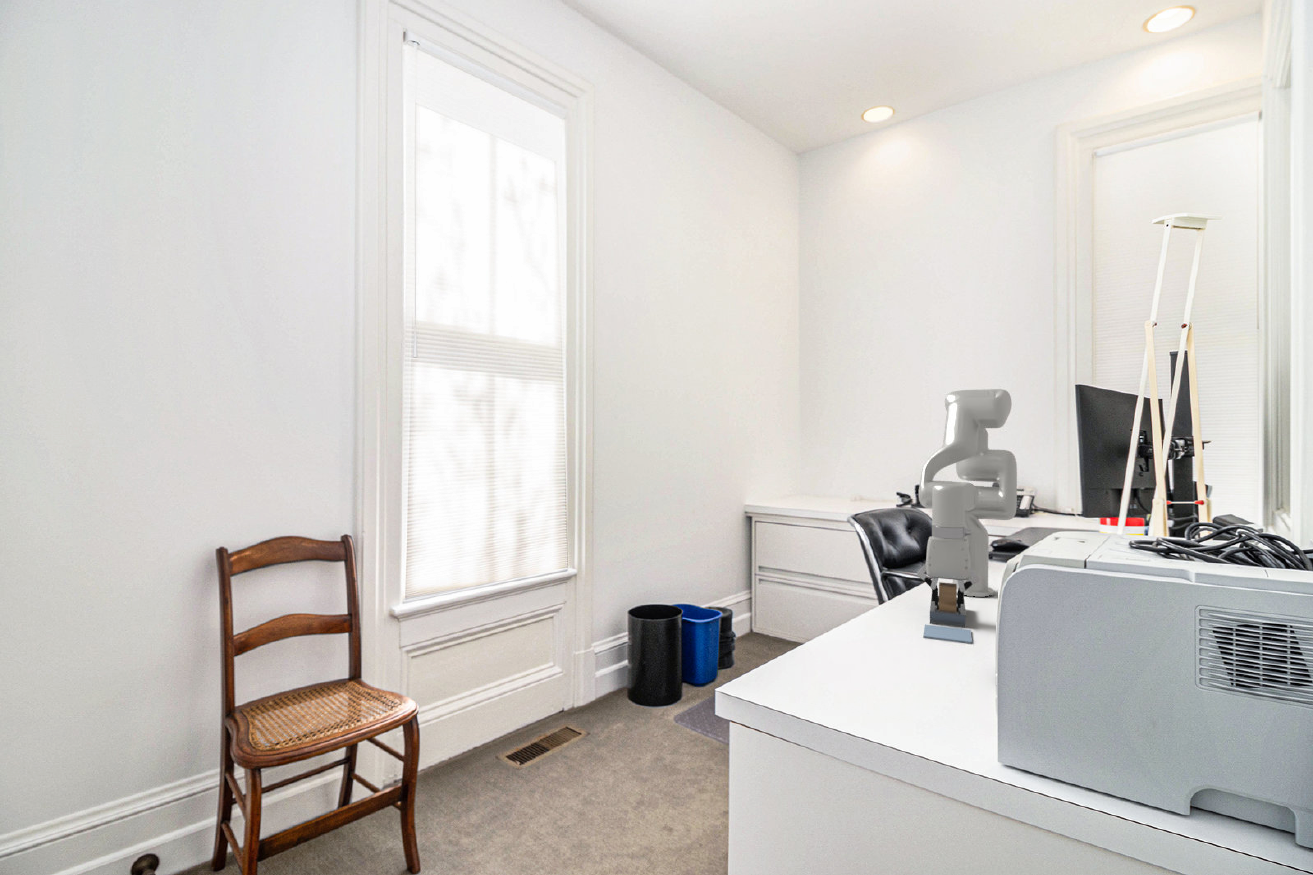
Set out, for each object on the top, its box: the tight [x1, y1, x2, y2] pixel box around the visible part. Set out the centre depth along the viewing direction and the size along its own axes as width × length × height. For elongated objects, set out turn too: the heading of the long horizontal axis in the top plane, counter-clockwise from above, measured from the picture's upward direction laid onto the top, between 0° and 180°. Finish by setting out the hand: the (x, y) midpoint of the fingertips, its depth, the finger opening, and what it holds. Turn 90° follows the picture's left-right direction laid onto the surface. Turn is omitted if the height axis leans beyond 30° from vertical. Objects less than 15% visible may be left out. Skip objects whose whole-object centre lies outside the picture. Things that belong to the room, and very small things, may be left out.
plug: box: [938, 581, 958, 612], centre depth 162 cm, size 4×4×9 cm
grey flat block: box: [929, 595, 967, 628], centre depth 166 cm, size 18×8×3 cm, turn 155°
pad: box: [922, 624, 973, 645], centre depth 151 cm, size 10×10×1 cm
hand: (947, 604), depth 162 cm, fingers open, 4 cm apart
